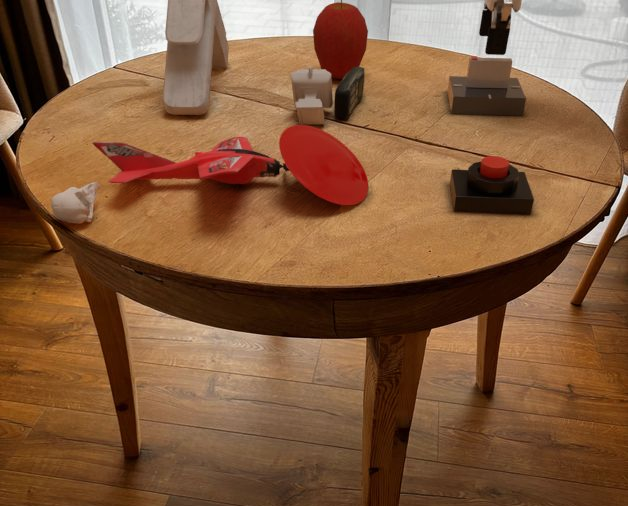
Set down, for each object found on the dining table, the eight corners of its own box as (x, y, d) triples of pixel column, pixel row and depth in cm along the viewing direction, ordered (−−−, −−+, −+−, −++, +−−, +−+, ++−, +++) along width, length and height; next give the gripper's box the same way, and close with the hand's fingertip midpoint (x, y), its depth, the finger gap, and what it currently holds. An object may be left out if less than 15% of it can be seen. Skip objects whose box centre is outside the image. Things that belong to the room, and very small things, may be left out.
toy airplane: (302, 210, 83) (304, 169, 81) (75, 205, 79) (70, 162, 77) (283, 168, 107) (284, 135, 105) (107, 162, 103) (104, 128, 101)
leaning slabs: (186, 158, 130) (153, 95, 107) (195, 42, 134) (165, -42, 111) (225, 159, 129) (201, 96, 107) (233, 43, 133) (211, -42, 111)
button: (505, 168, 90) (507, 156, 89) (508, 180, 88) (511, 168, 86) (478, 167, 90) (480, 155, 89) (480, 179, 88) (483, 167, 87)
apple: (303, 73, 130) (302, -6, 121) (346, 64, 134) (349, -13, 125) (331, 90, 123) (332, 7, 114) (376, 80, 127) (381, -1, 118)
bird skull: (118, 192, 89) (107, 168, 86) (87, 234, 85) (74, 210, 82) (83, 186, 91) (71, 162, 88) (51, 226, 87) (37, 202, 84)
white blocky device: (290, 56, 108) (285, 96, 105) (331, 56, 108) (328, 96, 104) (296, 97, 117) (291, 136, 113) (334, 98, 116) (331, 136, 112)
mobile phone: (350, 92, 108) (368, 60, 119) (332, 90, 109) (352, 59, 120) (349, 121, 112) (367, 88, 122) (332, 120, 112) (351, 87, 123)
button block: (521, 186, 94) (527, 159, 91) (530, 214, 88) (537, 186, 85) (449, 183, 95) (453, 156, 92) (453, 211, 89) (457, 183, 86)
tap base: (513, 93, 121) (517, 75, 119) (523, 117, 113) (527, 98, 111) (447, 91, 122) (449, 74, 120) (451, 115, 114) (453, 96, 112)
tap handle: (506, 85, 116) (511, 56, 113) (507, 88, 115) (513, 59, 112) (465, 84, 116) (469, 55, 113) (466, 87, 115) (470, 58, 112)
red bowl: (381, 172, 96) (358, 199, 100) (304, 108, 94) (284, 139, 98) (350, 220, 86) (326, 248, 90) (263, 150, 84) (243, 182, 88)
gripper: (548, -65, 93) (522, 62, 105) (528, -85, 106) (507, 30, 118) (493, -66, 94) (473, 61, 105) (481, -86, 107) (464, 28, 118)
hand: (491, 44), depth 111 cm, fingers open, 9 cm apart
